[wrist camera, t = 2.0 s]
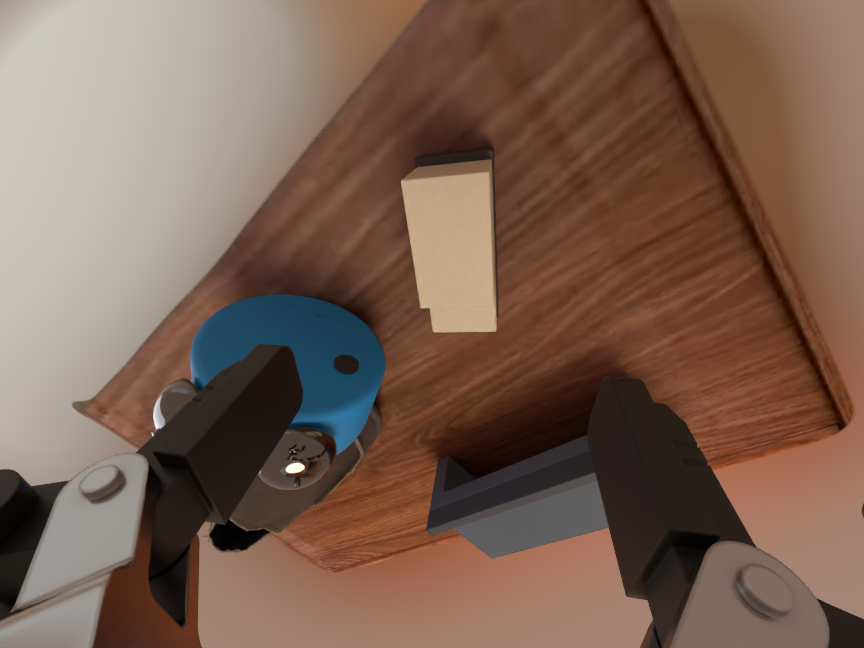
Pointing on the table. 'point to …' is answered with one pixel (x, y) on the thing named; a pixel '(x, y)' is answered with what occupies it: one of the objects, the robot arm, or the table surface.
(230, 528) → the loafer
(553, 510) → the grey stand
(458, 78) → the table surface
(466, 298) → the tan stepped block
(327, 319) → the alarm clock
